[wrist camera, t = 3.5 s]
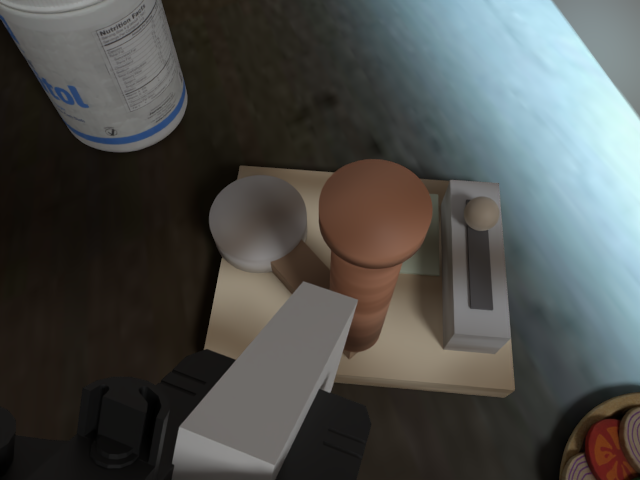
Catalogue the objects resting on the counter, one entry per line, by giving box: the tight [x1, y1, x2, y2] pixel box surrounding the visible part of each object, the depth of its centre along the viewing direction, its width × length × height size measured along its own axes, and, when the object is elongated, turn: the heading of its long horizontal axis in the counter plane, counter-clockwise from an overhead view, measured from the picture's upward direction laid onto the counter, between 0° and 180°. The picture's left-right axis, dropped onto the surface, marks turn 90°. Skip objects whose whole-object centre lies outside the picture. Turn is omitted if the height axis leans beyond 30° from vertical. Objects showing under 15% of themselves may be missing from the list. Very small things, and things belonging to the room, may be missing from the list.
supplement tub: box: [0, 0, 187, 152], centre depth 36 cm, size 10×10×15 cm
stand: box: [204, 166, 515, 398], centre depth 33 cm, size 14×18×7 cm
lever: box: [209, 159, 433, 359], centre depth 27 cm, size 14×6×14 cm, turn 40°
